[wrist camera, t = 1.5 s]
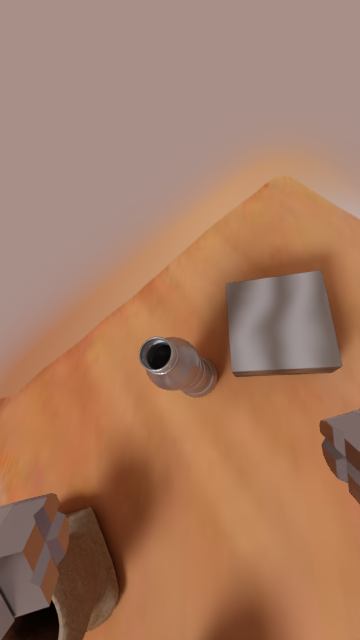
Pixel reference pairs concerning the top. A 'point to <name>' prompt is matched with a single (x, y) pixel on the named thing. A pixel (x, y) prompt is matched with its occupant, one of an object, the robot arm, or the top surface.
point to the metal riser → (281, 326)
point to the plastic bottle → (177, 366)
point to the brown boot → (75, 588)
